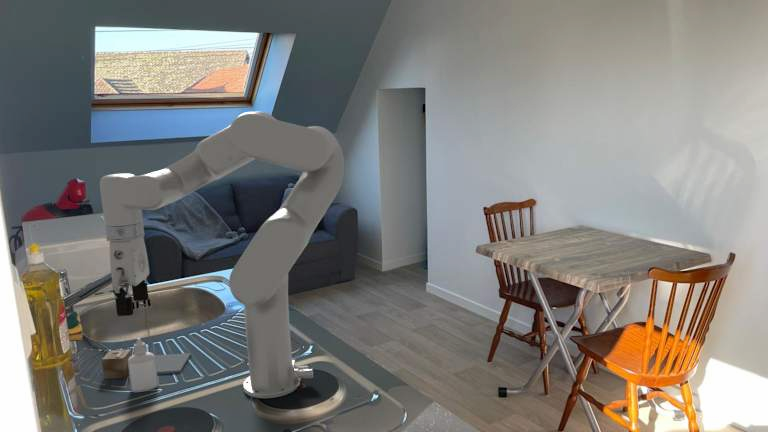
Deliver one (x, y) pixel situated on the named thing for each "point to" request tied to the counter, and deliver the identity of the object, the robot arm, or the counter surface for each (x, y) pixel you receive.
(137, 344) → the eye dropper bottle
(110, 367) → the walnut cube
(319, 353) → the counter surface
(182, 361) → the slate mat
